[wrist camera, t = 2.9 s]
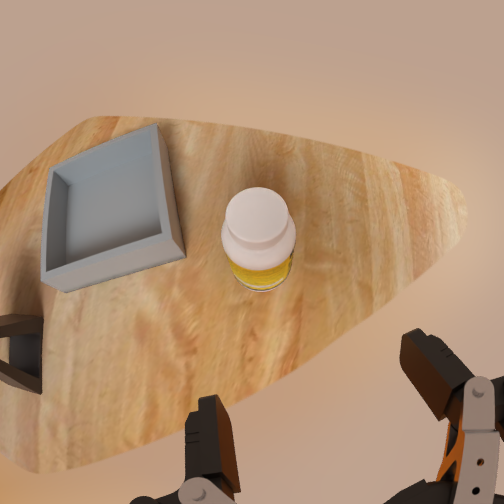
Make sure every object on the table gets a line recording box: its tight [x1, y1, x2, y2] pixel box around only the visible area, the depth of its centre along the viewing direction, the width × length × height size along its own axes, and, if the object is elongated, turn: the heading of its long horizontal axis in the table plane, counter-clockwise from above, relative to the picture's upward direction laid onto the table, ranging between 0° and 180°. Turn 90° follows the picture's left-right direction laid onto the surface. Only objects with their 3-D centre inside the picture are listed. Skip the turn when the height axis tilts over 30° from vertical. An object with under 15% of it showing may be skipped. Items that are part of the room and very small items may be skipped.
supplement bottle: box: [221, 187, 296, 292], centre depth 23 cm, size 5×5×10 cm
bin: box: [41, 123, 186, 293], centre depth 29 cm, size 15×15×4 cm
